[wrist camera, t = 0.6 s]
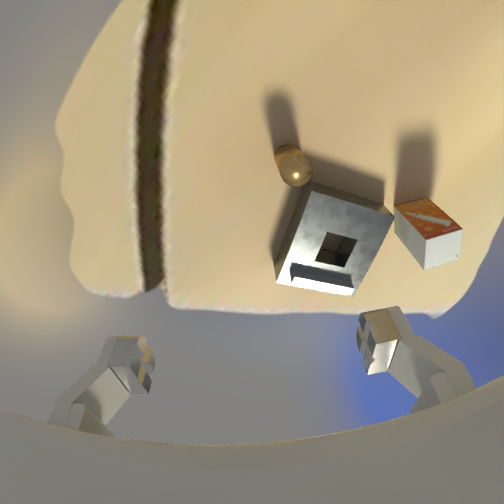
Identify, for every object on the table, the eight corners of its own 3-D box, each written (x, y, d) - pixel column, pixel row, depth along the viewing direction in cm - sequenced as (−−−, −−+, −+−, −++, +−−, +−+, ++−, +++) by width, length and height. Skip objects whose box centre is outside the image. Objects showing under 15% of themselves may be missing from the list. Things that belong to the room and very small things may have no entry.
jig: (305, 180, 48) (314, 195, 42) (383, 205, 51) (399, 222, 45) (274, 266, 57) (277, 289, 52) (346, 281, 60) (355, 303, 54)
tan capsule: (279, 141, 45) (285, 152, 38) (305, 148, 45) (316, 161, 39) (271, 166, 47) (276, 181, 40) (296, 173, 48) (306, 189, 41)
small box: (427, 196, 50) (464, 228, 39) (426, 224, 53) (460, 259, 42) (392, 205, 51) (426, 240, 40) (393, 233, 54) (423, 271, 43)
